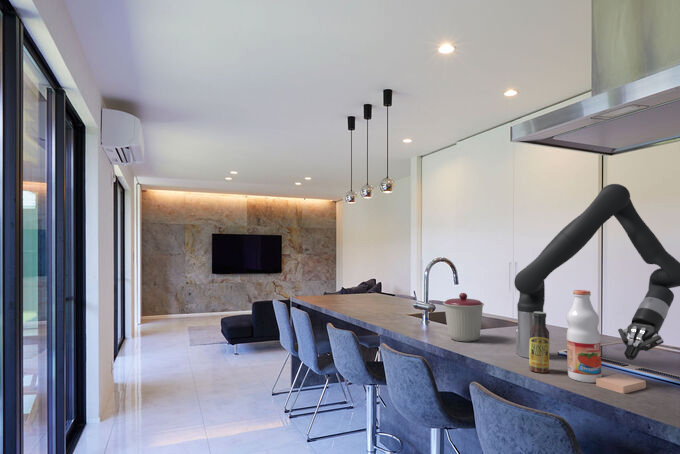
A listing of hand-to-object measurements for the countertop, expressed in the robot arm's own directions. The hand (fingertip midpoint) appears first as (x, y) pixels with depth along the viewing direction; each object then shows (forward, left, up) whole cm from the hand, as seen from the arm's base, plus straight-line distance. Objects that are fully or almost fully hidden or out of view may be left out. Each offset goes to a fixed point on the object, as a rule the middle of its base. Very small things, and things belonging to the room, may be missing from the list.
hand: (628, 357), depth 130 cm
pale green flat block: (0, +1, -7) cm, 7 cm away
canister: (-71, -2, -8) cm, 72 cm away
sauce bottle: (-22, -13, -8) cm, 27 cm away
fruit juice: (-10, -7, -8) cm, 15 cm away
